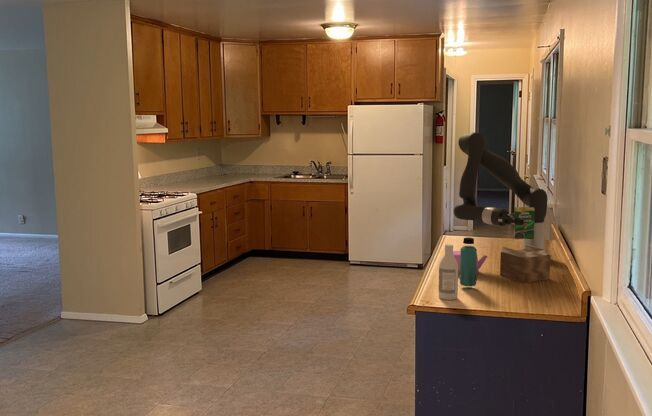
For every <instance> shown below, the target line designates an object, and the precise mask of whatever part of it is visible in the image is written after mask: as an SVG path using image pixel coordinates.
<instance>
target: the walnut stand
mask: <svg viewBox="0 0 652 416" xmlns="http://www.w3.org/2000/svg"><path fill="white" fill-rule="evenodd" d="M551 257H552V256H551V255H550V254H548V249H546V248H545V249H542V248H538V247H534V246H530V245H525V249H523V248H522V249H513V248H509V247H505V246H503V247H502V251H500V260H499V261H500V265H499V266H500V267H499V276H502V277H503V278H504V277H505V278H508V279H510V280H514V281H517V282H519V283H522V284H523V283H530V282H537V281H543V280H545V281H546V280H550V276H551V275H550V273H551V272H550V271H551Z"/></svg>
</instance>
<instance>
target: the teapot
mask: <svg viewBox="0 0 652 416" xmlns="http://www.w3.org/2000/svg"><path fill="white" fill-rule="evenodd" d="M460 253H461V250H453V255H454V257H455V259H456V260H457V263H458V276H460ZM487 258H488V255H485V254H484V255H483V256H481V258H480V259H479V257H478V256H477V258H476V260H477V266H476V267H477V269H476V270H477V271H476V272H477V273H476V276H478V275H479V269H481V268H482V266H483V264H484V262H485V261H486V259H487Z"/></svg>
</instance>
